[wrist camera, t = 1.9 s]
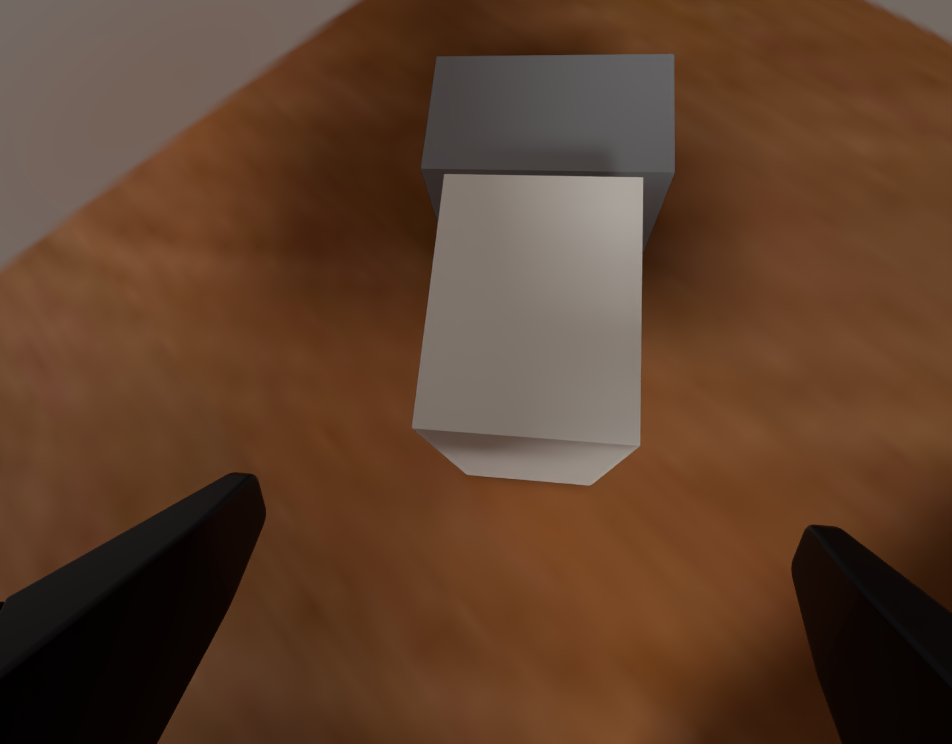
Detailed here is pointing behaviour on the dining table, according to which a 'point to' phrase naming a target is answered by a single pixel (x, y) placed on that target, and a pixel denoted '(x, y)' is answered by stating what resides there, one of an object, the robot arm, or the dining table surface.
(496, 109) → the block
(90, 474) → the dining table surface
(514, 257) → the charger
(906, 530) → the dining table surface
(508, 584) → the dining table surface
